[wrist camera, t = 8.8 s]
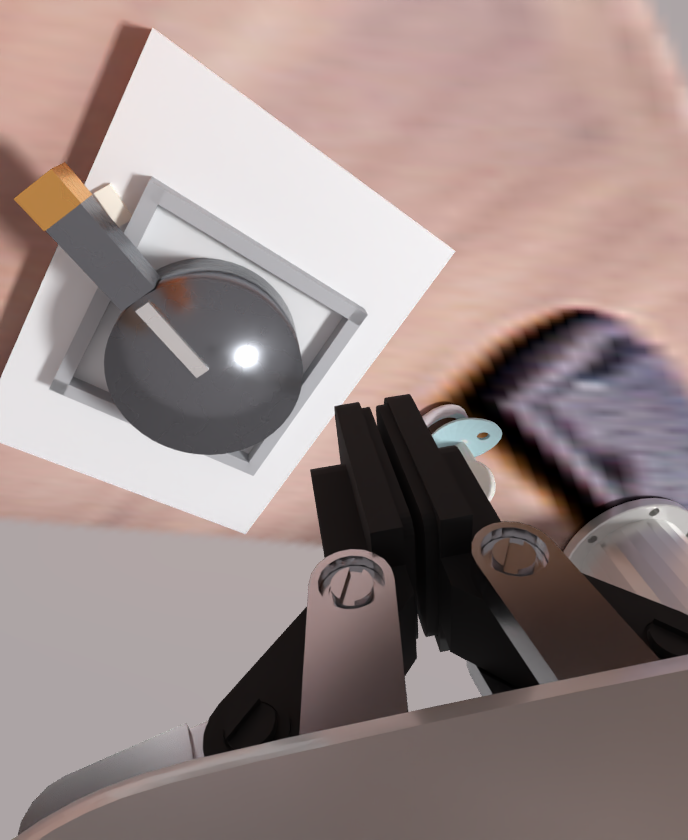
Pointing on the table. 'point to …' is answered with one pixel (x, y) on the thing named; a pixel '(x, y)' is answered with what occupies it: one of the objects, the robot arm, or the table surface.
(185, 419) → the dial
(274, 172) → the panel
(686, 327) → the table surface
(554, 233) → the table surface
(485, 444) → the pacifier
